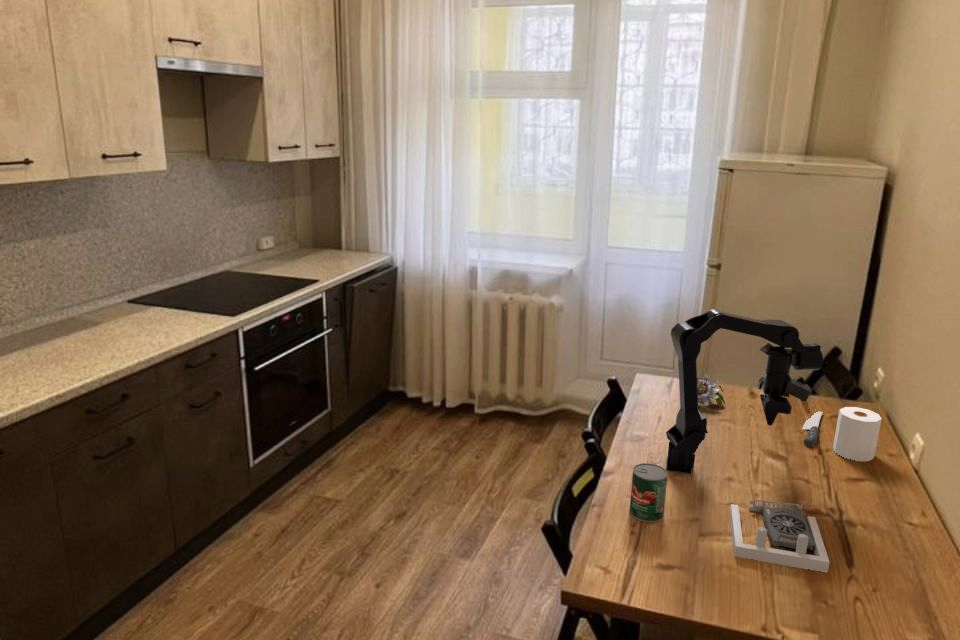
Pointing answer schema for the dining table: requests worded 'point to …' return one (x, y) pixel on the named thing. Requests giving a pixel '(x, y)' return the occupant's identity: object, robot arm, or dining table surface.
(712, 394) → the passion flower
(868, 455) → the toilet paper
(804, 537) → the u-shaped peg rack
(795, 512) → the graphics card
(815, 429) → the kitchen knife
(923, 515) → the dining table surface
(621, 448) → the dining table surface
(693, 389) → the robot arm
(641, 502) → the canned tomato
